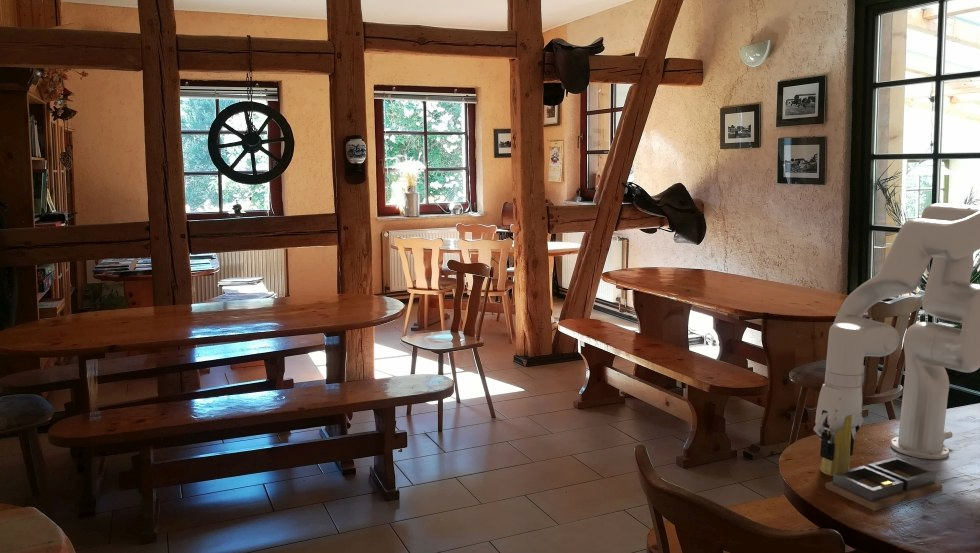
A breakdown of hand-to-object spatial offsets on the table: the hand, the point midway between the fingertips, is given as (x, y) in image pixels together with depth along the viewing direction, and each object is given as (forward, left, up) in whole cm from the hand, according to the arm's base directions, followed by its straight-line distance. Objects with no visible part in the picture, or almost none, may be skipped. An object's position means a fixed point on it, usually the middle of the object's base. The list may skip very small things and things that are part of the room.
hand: (836, 455), depth 182 cm
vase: (0, 0, -4) cm, 4 cm away
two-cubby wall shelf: (-2, +11, -3) cm, 12 cm away
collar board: (-2, +11, -4) cm, 12 cm away
